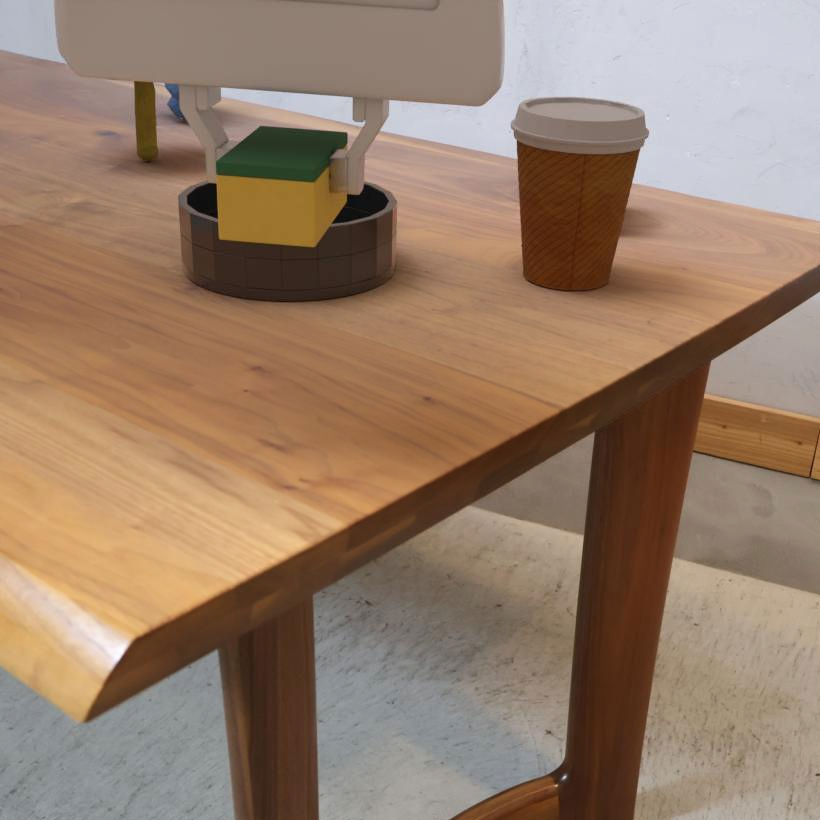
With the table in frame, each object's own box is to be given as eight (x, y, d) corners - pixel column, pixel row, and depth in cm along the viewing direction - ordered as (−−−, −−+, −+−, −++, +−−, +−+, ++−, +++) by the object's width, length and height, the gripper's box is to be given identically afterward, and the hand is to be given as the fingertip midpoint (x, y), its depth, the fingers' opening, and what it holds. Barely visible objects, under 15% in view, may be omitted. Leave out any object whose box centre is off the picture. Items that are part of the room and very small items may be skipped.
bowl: (153, 292, 77) (147, 219, 75) (216, 229, 91) (213, 166, 89) (377, 309, 76) (378, 235, 74) (407, 243, 90) (409, 179, 87)
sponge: (218, 239, 53) (215, 161, 51) (261, 195, 60) (260, 125, 58) (315, 247, 52) (315, 169, 51) (347, 202, 59) (347, 132, 58)
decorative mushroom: (115, 183, 102) (98, 3, 95) (59, 155, 110) (40, -13, 104) (239, 167, 109) (232, -2, 102) (178, 141, 118) (167, -16, 111)
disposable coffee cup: (530, 249, 90) (542, 90, 84) (648, 271, 86) (668, 106, 81) (479, 283, 82) (489, 110, 76) (606, 308, 78) (625, 129, 73)
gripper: (528, -122, 51) (504, 187, 57) (81, -149, 52) (106, 155, 59) (521, -120, 46) (496, 221, 52) (21, -151, 47) (55, 185, 53)
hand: (285, 186), depth 55 cm, fingers closed on sponge, 4 cm apart
